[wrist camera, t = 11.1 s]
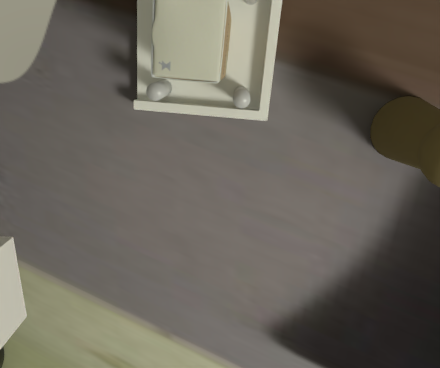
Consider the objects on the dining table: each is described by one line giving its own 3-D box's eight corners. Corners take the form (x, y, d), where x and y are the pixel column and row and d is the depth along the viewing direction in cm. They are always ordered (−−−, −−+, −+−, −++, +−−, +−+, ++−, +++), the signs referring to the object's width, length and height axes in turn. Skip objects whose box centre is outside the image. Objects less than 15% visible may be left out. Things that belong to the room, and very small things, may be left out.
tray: (140, 105, 34) (124, 114, 29) (140, -39, 30) (121, -56, 25) (265, 116, 34) (269, 126, 29) (283, -28, 30) (291, -43, 25)
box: (225, 78, 32) (219, 89, 21) (177, 72, 32) (148, 81, 21) (232, 13, 30) (229, -9, 20) (181, 8, 30) (151, -17, 20)
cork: (389, 86, 32) (460, 101, 22) (449, 109, 33) (546, 134, 22) (358, 147, 34) (410, 187, 24) (415, 168, 35) (489, 216, 24)
